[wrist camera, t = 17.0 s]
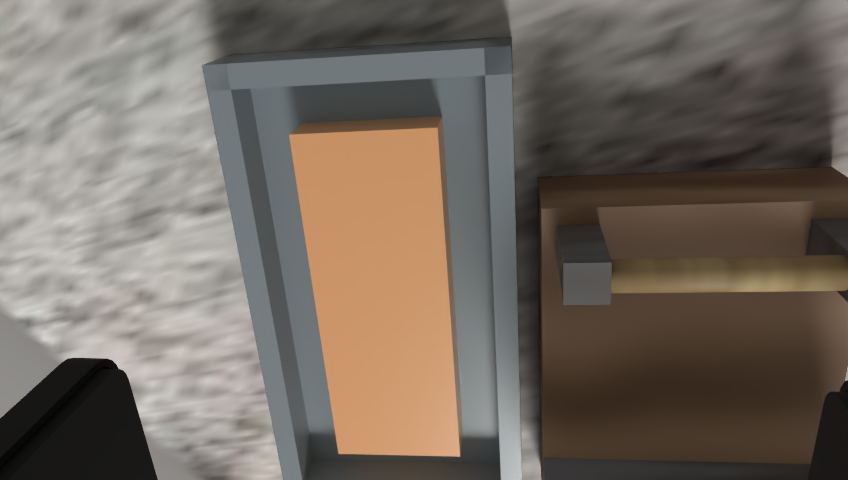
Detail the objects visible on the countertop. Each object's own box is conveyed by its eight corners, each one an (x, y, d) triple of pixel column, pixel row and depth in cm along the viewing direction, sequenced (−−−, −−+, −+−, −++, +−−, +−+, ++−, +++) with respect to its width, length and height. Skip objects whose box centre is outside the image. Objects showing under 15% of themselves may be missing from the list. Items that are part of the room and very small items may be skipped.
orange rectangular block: (303, 123, 29) (289, 134, 27) (442, 116, 28) (437, 127, 26) (347, 427, 35) (338, 454, 33) (462, 429, 34) (460, 456, 32)
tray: (231, 54, 29) (201, 65, 26) (511, 37, 27) (511, 46, 25) (303, 460, 37) (287, 500, 35) (521, 466, 36) (522, 508, 33)
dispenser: (537, 177, 30) (557, 347, 17) (831, 167, 28) (1102, 348, 15) (540, 466, 36) (556, 753, 23) (782, 472, 34) (944, 785, 21)
